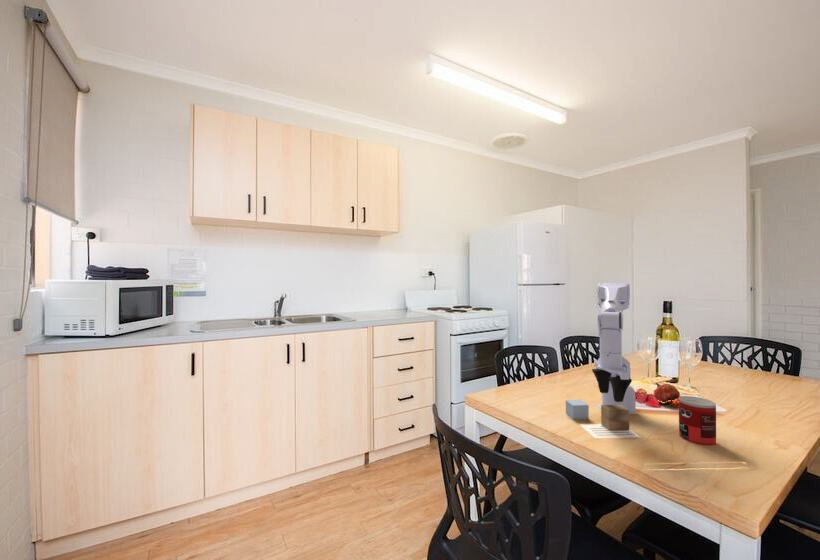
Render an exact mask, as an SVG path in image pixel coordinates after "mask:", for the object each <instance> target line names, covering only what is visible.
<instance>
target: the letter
mask: <svg viewBox="0 0 820 560" xmlns="http://www.w3.org/2000/svg"><path fill="white" fill-rule="evenodd" d="M579 426H580V427H581V428H583V429H584V430H585V431H586V432H587V433H588V434H590V435H591V436H592V437H593V438H594V439H617V438H618V439H619V438H620V439H621V438H622V439H623V438H641V436H640V435H639V434H638V433H636V432H634V431H633V430H632V429H630V428H629V430H608V429H606V428H605V427H604V426H602V425H601V423H590V424H585V423H584V424H579Z"/></svg>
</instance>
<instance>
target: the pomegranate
mask: <svg viewBox="0 0 820 560" xmlns="http://www.w3.org/2000/svg"><path fill="white" fill-rule="evenodd" d="M655 385H656V386H657V387H656V388H655V389H654V390H653V398H654V399H655V398H656V399H657V400H659V401H662V402H666V401H668V400H671V403H672V402H674V401H676V400H677V399H679V397H680V395H681V393H680V391H679V390H678V388H676V387H675V386H674V385H672V384H669V383H663V384H659V383H658V382H656V383H655ZM656 399H655V400H656ZM675 399H676V400H675ZM657 400H656V401H657ZM672 400H674V401H672Z"/></svg>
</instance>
